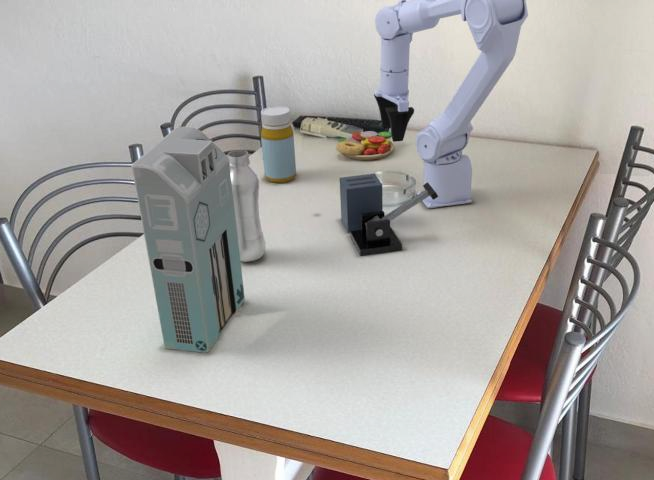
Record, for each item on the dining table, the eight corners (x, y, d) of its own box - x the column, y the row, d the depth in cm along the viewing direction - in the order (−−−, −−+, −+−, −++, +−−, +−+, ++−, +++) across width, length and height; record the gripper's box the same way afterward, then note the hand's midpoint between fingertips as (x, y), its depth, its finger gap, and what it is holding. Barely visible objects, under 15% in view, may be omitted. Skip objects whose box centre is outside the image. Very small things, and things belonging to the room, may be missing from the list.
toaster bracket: (390, 231, 168) (390, 205, 165) (402, 250, 161) (402, 223, 158) (350, 236, 167) (349, 211, 164) (360, 255, 160) (359, 229, 157)
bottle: (300, 173, 194) (296, 106, 186) (289, 185, 189) (284, 117, 180) (272, 170, 196) (266, 104, 188) (260, 182, 191) (253, 114, 182)
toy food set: (333, 161, 200) (332, 147, 198) (342, 141, 210) (341, 128, 208) (390, 162, 198) (390, 148, 196) (397, 142, 208) (397, 128, 206)
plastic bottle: (273, 252, 162) (263, 149, 151) (255, 268, 157) (244, 162, 146) (243, 247, 165) (231, 144, 153) (225, 262, 160) (211, 158, 148)
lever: (431, 189, 163) (426, 179, 161) (439, 199, 159) (434, 189, 157) (368, 229, 165) (362, 220, 163) (375, 240, 161) (369, 231, 159)
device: (210, 354, 134) (182, 168, 117) (164, 348, 136) (130, 165, 119) (245, 302, 147) (225, 128, 130) (203, 298, 149) (178, 125, 132)
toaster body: (375, 216, 174) (374, 172, 169) (382, 228, 169) (382, 184, 164) (341, 220, 173) (339, 177, 168) (347, 233, 168) (346, 188, 163)
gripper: (366, 59, 179) (365, 123, 187) (385, 81, 168) (383, 148, 176) (399, 56, 180) (397, 120, 188) (420, 78, 169) (416, 145, 177)
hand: (392, 134), depth 182 cm, fingers open, 7 cm apart
